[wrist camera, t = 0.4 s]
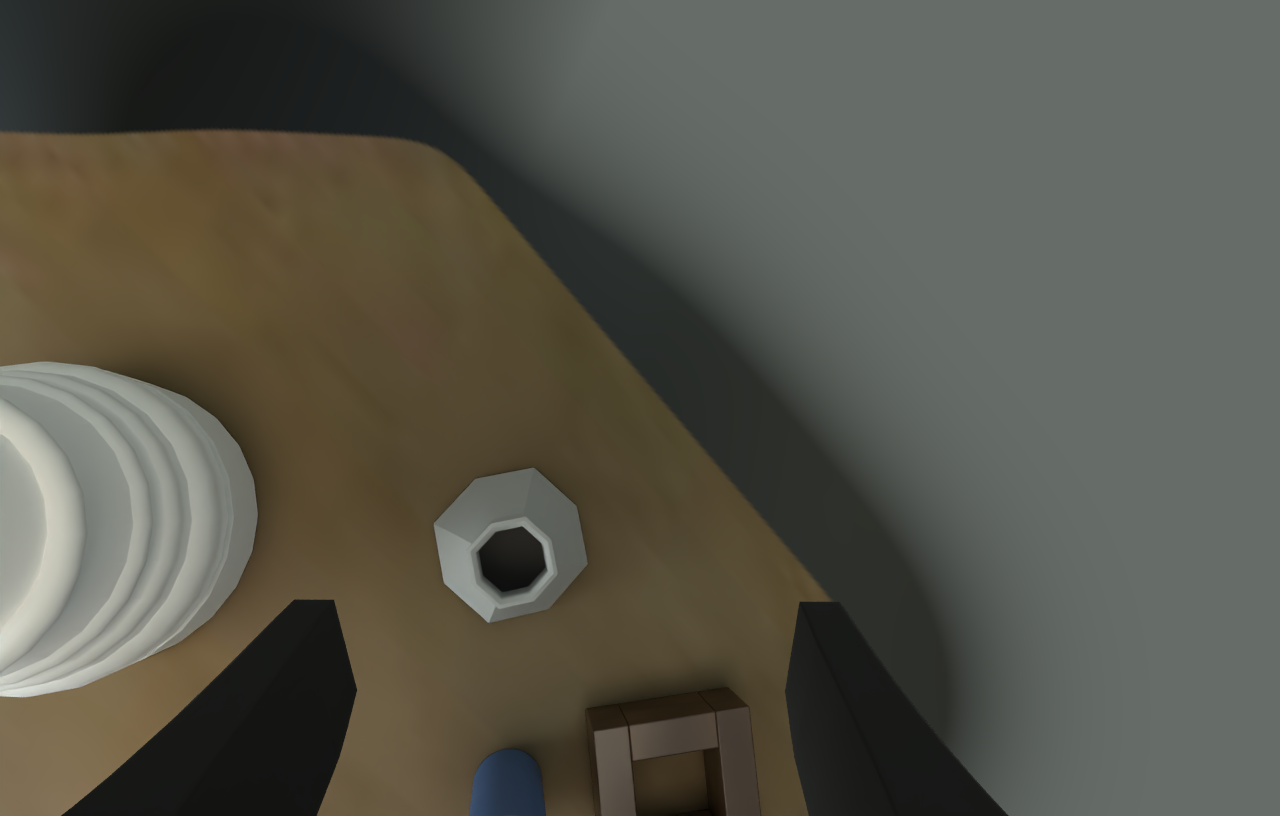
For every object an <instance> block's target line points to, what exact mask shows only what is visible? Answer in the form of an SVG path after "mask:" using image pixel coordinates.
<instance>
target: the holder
mask: <svg viewBox="0 0 1280 816" xmlns="http://www.w3.org/2000/svg"><path fill="white" fill-rule="evenodd" d="M585 711H586V722H587V733H588V744H589V755H590V766H591V777H592V788H593V799H594V810H595V816H637V809H636V799H635V788H634V778H633V767H632V761H640V760H646V759H652V758H658V757H664V756H670V755H676V754H682V753H688V752H694V751H700V750H703V752H704V761H705V771H706V781H707V791H708V800H709V810H702V811H697V812H691V813H686V814H680V815H675V816H761V810H760V801H759V792H758V783H757V774H756V765H755V755H754V746H753V737H752V728H751V719H750V710H749V706H748V705H747V704H746V703H745V702H744V701H743V700H741V699H740V698H739V697H738V696H737V695H736V694H735V693H734V692H733V691H731V690H730V689H729V688H728V687H725V688H719V689H712V690H706V691H699V692H694V693H687V694H681V695H674V696H667V697H661V698H654V699H648V700H641V701H635V702H628V703H621V704H615V705H608V706H601V707H595V708H588V709H586V710H585Z"/></svg>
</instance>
